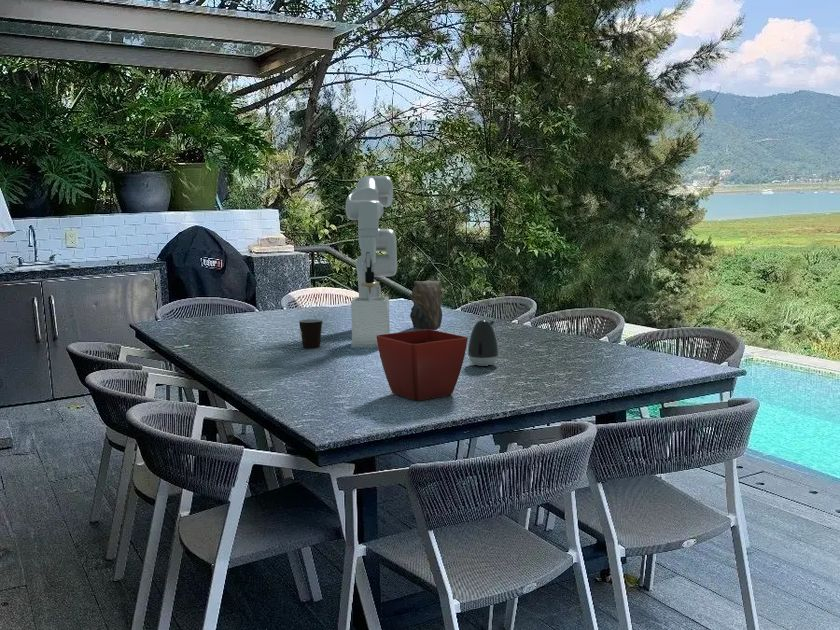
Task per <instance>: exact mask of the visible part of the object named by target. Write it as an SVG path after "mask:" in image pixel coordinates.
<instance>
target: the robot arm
mask: <svg viewBox="0 0 840 630" xmlns="http://www.w3.org/2000/svg"><path fill="white" fill-rule="evenodd" d="M393 201H394V184H393V181H392V179H391V178H390V177H389V176H388V175H365V176H362V177H360V178H359V179H358V182H357V185H356V187H355V188H353V189H352V190H351V193H349V195H348V196H347V198H346V201H345V215H346V217H347V219H348V220H351V221H357V228H358V230H357V231H358V245H359V246H358V247H359V249H360V251H361V252H360V255H359V256H358V257H357V258H356V260H355V270H356V275H357V282H358V283H357V284H358V287H357V288H358V297H369V290H368V287H365V286H361V282H366V283H374V282H378V281H377V280H376V279H375V278H377V277H383V278H384V277H394V276H395V275H396V273H397V271H398V256H397V255H398V254H397V253H398V251H397V236H396V233H395V231H394V230H393V229H391V228H379V227H380V226H379V224H380V221H379V220H380V219H381V217H382V216H383V215H384V208H388V207H390V206H391V205H392V204H393ZM377 252H384V254H383V253H382V254H381V253H379V254H377ZM381 288H382V286H381V285H380V284H379V286H372V297H382V289H381Z"/></svg>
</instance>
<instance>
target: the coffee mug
mask: <svg viewBox="0 0 840 630" xmlns="http://www.w3.org/2000/svg"><path fill="white" fill-rule="evenodd" d="M298 323H299V330H300V336H301V343H302V348H303V349H310V350H311V349H319V348H321V339H322V338H321V337H322V327H323V319H319V318H318V319H317V318H314V319H312V318H311V319H302V320H298Z"/></svg>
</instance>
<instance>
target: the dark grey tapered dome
mask: <svg viewBox="0 0 840 630" xmlns="http://www.w3.org/2000/svg"><path fill="white" fill-rule="evenodd" d="M494 324H495V321H494V320H491V321H488V320H485V319H482V320H478V321H477V322H476V323H475V324H474V326H473V328H472V331H471V333H470V337H469V341H468V347H467V355H468V358H469V361H470V362H471V364H472V365H474V366H475V365H478V366H487V365H491V366H493V365H495V363H496V362H497V360H498V357H499V355H500V354H499V353H500V351H499V344H498V340H497V336H496V332H495V330H494V327H493V325H494ZM478 366H477V367H478Z"/></svg>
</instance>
